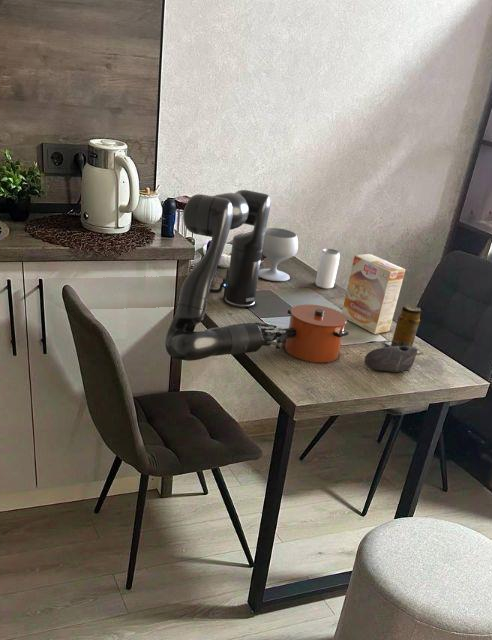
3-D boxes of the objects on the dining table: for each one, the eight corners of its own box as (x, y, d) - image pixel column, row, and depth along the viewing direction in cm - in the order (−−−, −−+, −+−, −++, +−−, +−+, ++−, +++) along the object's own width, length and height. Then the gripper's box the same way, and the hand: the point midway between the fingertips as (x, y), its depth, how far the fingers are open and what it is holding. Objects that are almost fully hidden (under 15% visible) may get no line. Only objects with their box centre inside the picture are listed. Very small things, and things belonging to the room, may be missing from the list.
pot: (268, 343, 203) (275, 303, 196) (304, 333, 212) (312, 295, 206) (319, 369, 192) (328, 328, 186) (354, 358, 202) (364, 318, 195)
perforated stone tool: (364, 373, 194) (371, 349, 190) (359, 364, 198) (364, 341, 194) (417, 375, 197) (424, 352, 193) (410, 367, 201) (417, 344, 197)
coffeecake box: (340, 316, 228) (353, 254, 217) (355, 313, 232) (370, 252, 221) (374, 334, 218) (390, 271, 208) (390, 331, 222) (406, 268, 211)
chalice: (264, 283, 246) (271, 239, 237) (246, 270, 256) (252, 226, 248) (299, 282, 251) (307, 239, 243) (280, 269, 261) (287, 226, 253)
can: (334, 289, 249) (341, 255, 242) (316, 287, 249) (322, 252, 242) (332, 283, 254) (339, 249, 248) (314, 281, 254) (320, 247, 247)
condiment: (403, 341, 217) (414, 302, 210) (421, 353, 211) (433, 313, 204) (384, 343, 214) (394, 304, 207) (401, 355, 207) (413, 315, 201)
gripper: (255, 335, 180) (311, 328, 188) (228, 315, 189) (283, 310, 197) (251, 362, 184) (306, 355, 192) (225, 342, 194) (278, 335, 202)
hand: (294, 332), depth 195 cm, fingers closed
